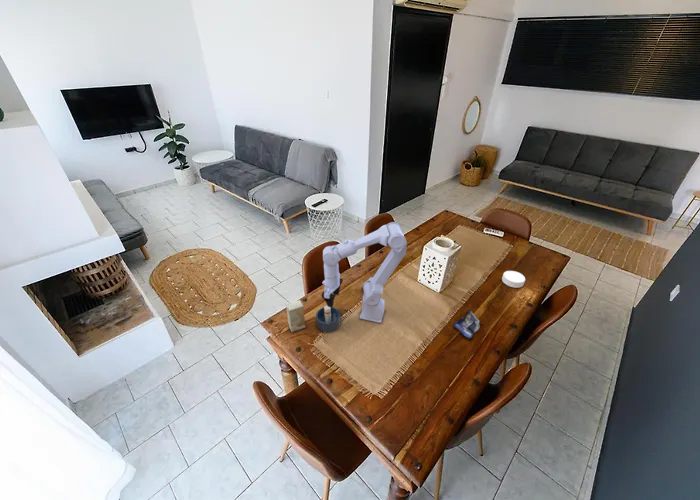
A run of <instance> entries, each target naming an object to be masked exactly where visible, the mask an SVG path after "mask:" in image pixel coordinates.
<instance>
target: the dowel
mask: <svg viewBox="0 0 700 500" xmlns="http://www.w3.org/2000/svg"><path fill="white" fill-rule="evenodd" d="M323 307H324V313H325V323H330V322H331V308H330V307H328V306H327V305H324V306H323Z"/></svg>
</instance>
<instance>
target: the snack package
mask: <svg viewBox="0 0 700 500" xmlns="http://www.w3.org/2000/svg"><path fill="white" fill-rule="evenodd" d="M480 327H481V325H480V319H479V318H477V316H476V315H475V314H474V313H473V311H472V309H469V310H467V311H466V313H465V314H464V315H463V316H462V317H460V318H459V319H458V320H455V322H454V323H453V328H456V329H457V330H458V332H460V334H461V335H463V337H465V338H467V339H469V340H472V339H473V336H474V335H475V333H476V332H477V331H479V329H480Z"/></svg>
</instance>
